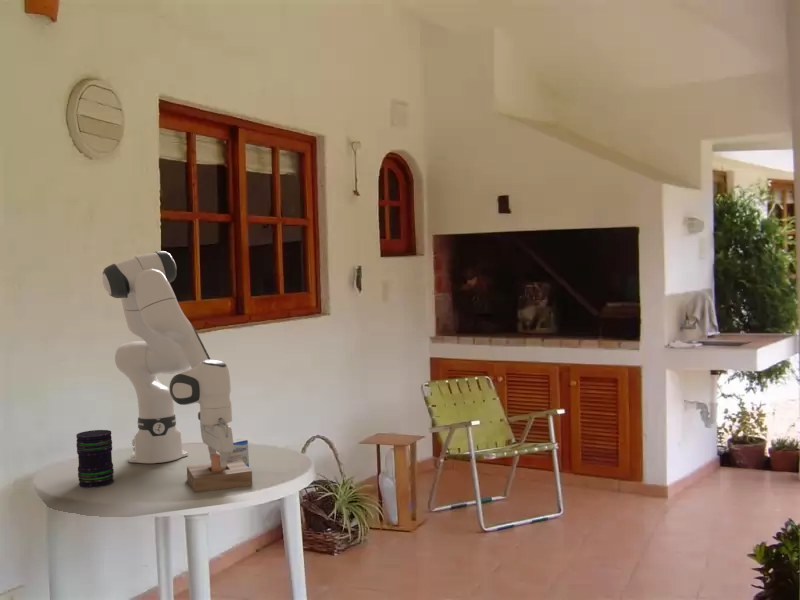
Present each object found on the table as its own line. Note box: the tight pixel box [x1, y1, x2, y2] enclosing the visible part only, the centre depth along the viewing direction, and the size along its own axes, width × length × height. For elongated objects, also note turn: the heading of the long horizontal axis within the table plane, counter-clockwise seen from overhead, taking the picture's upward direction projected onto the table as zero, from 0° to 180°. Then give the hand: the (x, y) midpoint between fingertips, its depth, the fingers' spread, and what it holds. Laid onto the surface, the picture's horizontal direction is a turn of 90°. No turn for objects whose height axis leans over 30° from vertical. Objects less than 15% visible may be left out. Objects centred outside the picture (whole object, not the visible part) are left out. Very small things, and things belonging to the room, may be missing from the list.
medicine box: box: [227, 438, 250, 468], centre depth 259 cm, size 8×4×9 cm, turn 137°
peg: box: [210, 452, 226, 472], centre depth 243 cm, size 4×4×8 cm
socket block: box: [186, 460, 253, 493], centre depth 243 cm, size 16×16×4 cm
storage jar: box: [75, 429, 115, 489], centre depth 247 cm, size 10×10×15 cm
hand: (218, 463), depth 243 cm, fingers open, 8 cm apart
